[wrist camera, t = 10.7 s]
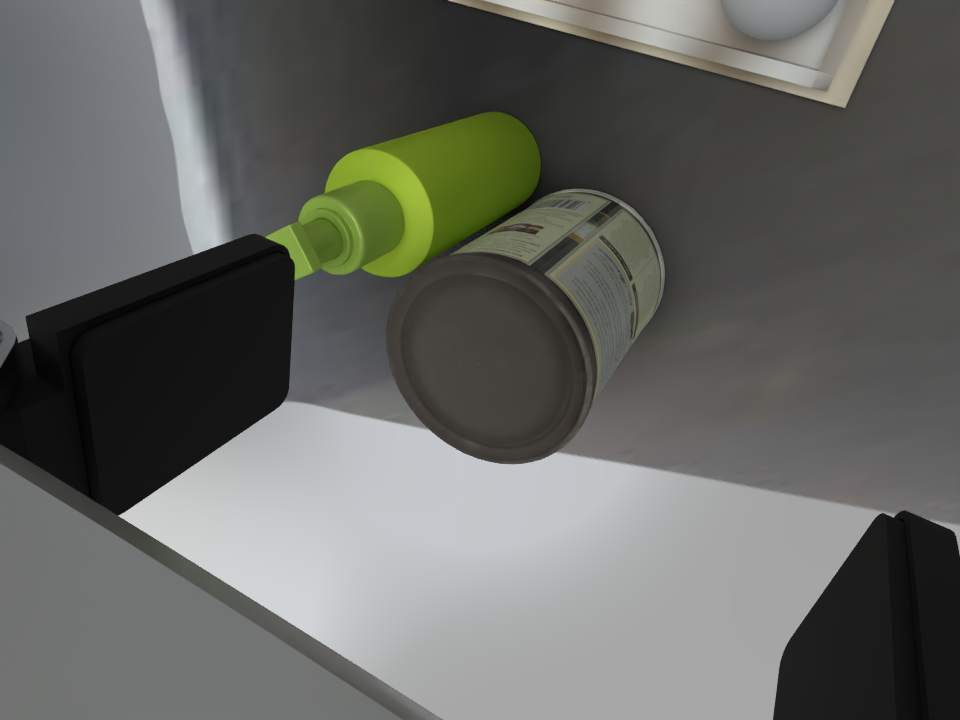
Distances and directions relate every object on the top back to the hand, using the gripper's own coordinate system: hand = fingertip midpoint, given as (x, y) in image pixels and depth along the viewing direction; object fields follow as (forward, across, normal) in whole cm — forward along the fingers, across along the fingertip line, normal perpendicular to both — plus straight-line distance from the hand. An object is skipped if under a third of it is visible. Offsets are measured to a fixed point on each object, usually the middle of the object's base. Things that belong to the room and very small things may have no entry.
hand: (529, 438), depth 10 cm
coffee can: (+31, +7, +10) cm, 33 cm away
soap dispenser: (+31, +14, +6) cm, 34 cm away
